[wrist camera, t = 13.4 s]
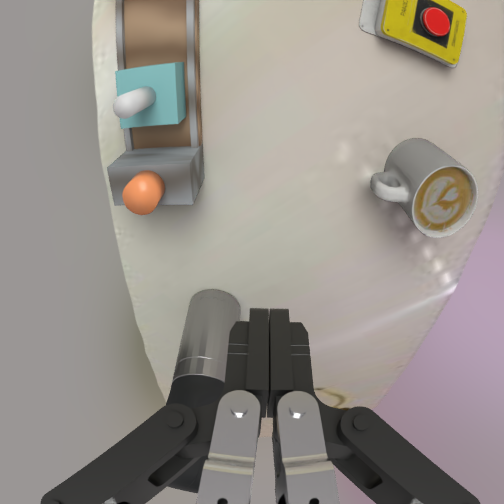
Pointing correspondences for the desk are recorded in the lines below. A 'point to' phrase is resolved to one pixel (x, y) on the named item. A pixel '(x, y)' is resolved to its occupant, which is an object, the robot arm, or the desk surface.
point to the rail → (190, 128)
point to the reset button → (143, 192)
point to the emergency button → (418, 26)
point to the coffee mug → (428, 187)
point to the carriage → (150, 95)
